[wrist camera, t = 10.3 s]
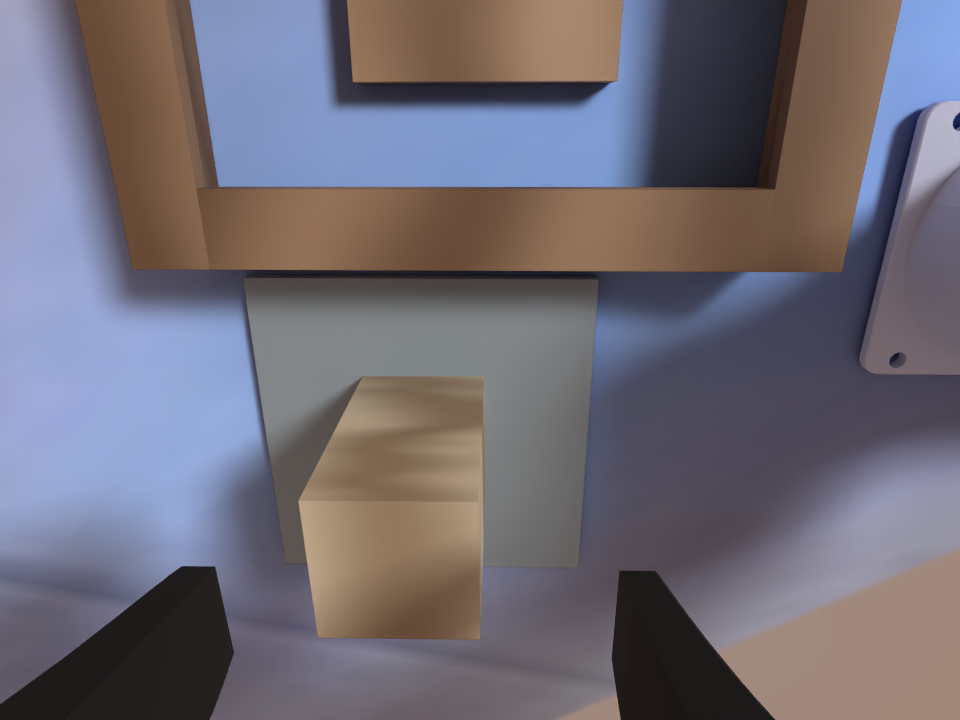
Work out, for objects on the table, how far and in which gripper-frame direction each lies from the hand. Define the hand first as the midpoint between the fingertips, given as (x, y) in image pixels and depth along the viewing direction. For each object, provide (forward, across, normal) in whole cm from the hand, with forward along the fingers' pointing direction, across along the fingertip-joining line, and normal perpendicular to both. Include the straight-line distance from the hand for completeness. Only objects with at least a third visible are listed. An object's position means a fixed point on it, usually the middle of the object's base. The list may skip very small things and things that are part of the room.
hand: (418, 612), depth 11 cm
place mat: (+10, +1, +2) cm, 11 cm away
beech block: (+10, +1, +2) cm, 10 cm away
